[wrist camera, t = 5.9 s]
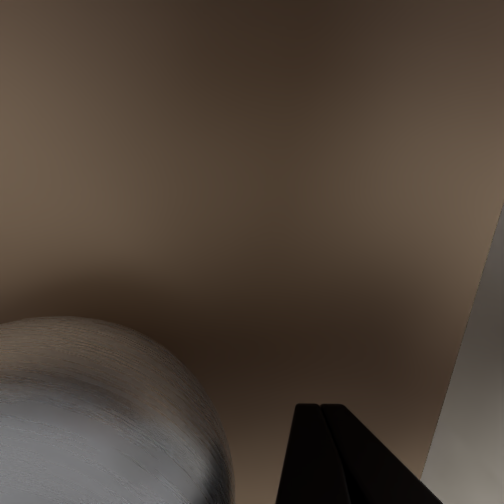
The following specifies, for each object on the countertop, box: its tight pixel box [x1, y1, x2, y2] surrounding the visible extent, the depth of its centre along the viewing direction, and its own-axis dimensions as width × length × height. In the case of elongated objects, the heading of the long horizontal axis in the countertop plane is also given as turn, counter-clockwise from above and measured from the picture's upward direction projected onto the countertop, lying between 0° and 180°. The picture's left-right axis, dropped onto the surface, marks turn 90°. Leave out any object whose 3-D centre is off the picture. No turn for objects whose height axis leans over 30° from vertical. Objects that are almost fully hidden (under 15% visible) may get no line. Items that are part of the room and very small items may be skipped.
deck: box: [0, 0, 504, 504], centre depth 9 cm, size 16×14×4 cm
